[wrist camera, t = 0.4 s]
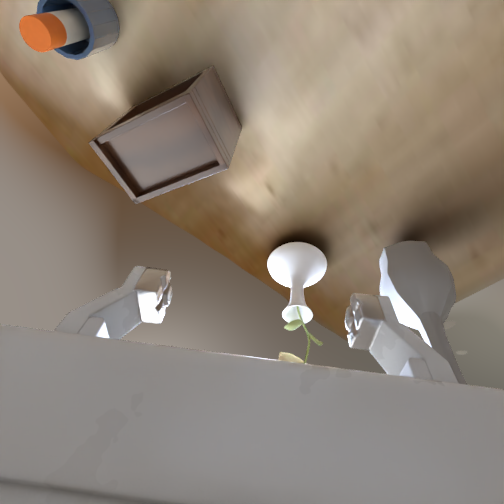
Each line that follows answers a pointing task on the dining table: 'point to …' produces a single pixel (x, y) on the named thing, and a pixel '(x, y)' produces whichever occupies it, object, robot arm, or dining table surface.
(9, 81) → the dining table surface
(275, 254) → the flower in vase
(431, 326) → the bottle
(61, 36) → the marker
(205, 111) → the small wooden shelf
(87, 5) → the pen cup
